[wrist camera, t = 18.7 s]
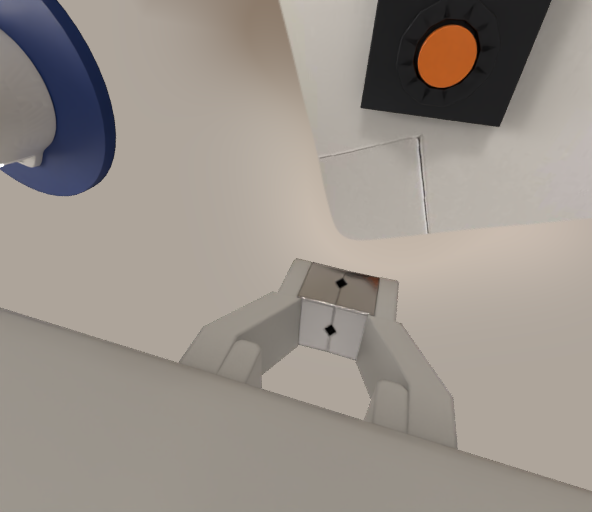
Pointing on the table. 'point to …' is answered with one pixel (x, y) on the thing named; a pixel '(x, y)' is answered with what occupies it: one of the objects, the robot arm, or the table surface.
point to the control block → (482, 77)
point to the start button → (447, 56)
